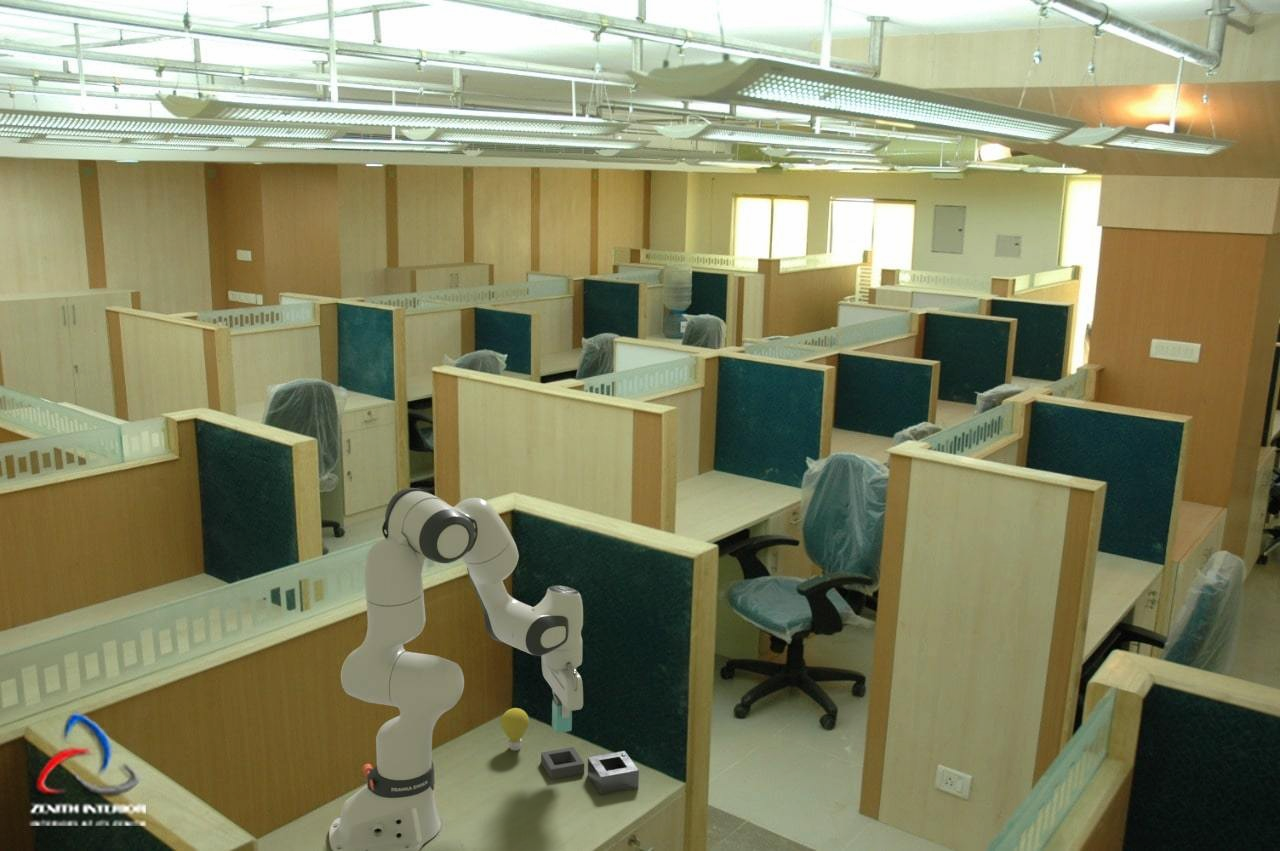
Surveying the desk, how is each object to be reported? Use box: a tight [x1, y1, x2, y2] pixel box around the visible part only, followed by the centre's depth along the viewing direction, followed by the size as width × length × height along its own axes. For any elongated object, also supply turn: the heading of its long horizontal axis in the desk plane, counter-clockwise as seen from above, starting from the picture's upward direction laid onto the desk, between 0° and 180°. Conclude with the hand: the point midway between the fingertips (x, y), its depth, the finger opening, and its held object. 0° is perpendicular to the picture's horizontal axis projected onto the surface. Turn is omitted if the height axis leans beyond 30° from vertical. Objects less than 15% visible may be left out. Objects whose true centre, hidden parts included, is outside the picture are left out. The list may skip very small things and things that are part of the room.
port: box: [587, 750, 640, 796], centre depth 239 cm, size 9×9×5 cm
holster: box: [540, 746, 585, 780], centre depth 245 cm, size 8×8×2 cm
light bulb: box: [500, 707, 530, 751], centre depth 253 cm, size 7×7×10 cm
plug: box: [551, 694, 573, 734], centre depth 242 cm, size 4×4×8 cm
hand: (561, 711), depth 242 cm, fingers closed on plug, 4 cm apart
